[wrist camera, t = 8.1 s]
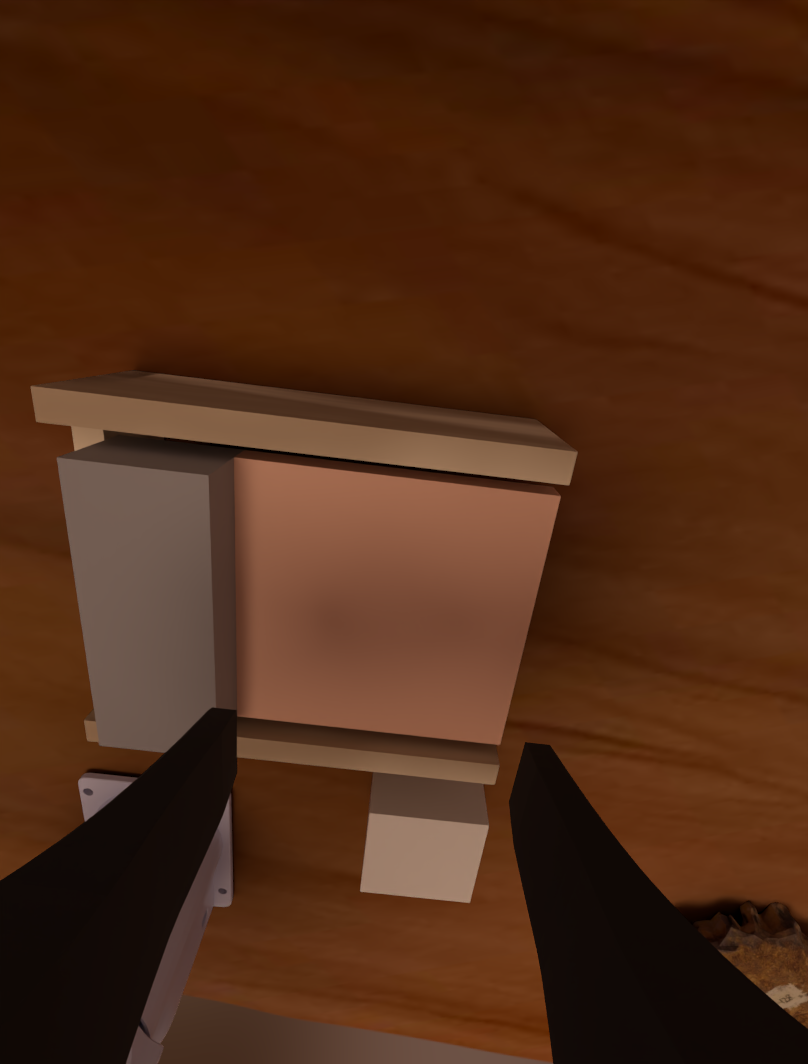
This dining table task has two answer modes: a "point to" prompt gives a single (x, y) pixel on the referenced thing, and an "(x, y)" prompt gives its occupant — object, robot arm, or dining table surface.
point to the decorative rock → (766, 953)
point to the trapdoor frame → (333, 432)
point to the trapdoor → (298, 590)
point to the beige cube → (424, 837)
